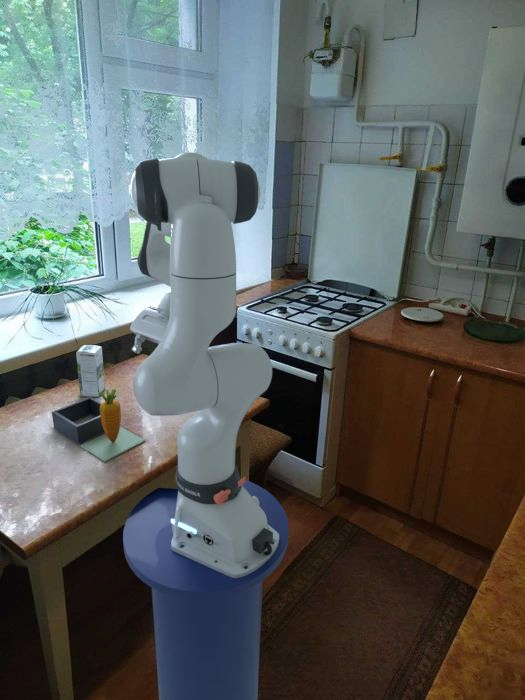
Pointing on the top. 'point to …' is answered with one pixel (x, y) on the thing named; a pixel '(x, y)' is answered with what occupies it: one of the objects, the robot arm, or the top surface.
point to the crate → (76, 411)
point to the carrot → (110, 415)
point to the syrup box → (90, 370)
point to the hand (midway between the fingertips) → (146, 357)
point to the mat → (112, 444)
